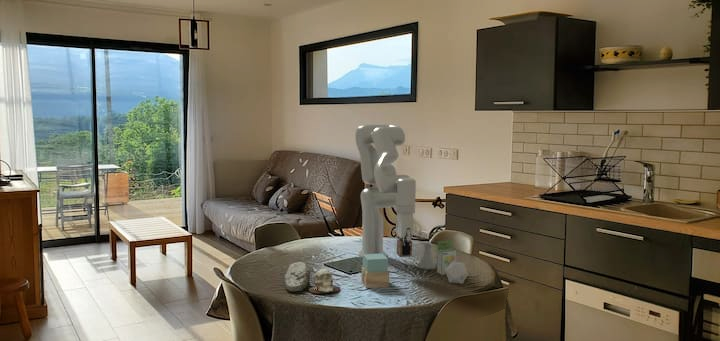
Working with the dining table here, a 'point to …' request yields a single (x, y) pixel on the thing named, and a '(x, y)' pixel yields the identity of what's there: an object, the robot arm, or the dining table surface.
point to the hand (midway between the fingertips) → (404, 252)
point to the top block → (375, 263)
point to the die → (456, 272)
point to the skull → (324, 282)
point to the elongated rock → (296, 277)
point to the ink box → (445, 256)
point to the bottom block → (375, 279)
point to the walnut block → (399, 248)
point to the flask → (427, 258)
